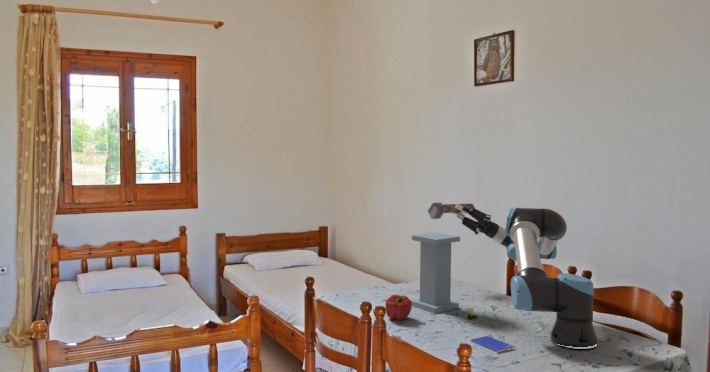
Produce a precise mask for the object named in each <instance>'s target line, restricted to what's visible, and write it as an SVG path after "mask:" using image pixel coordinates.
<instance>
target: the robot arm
mask: <svg viewBox="0 0 710 372" xmlns="http://www.w3.org/2000/svg"><path fill="white" fill-rule="evenodd" d="M455 204H456V206H455V208H456V209H458V210H460V211H462V212H458V213H452V214H453V215H455V216H456V218H459V219H460V220H461V224H462V225H463V226H464V227H466V228H467V229H469V230H471V232H473V233H474V234H475V235H478V234H479V233H482V234H484V235H485V237H488V238H490V239H492V240H493V241H494V242H497V243H498V244H500V245H502V246H503V247H504V248H506V254H507V256H508V257H509V259H510V260H512V261H516V267H517V272H516V273H515V276H512V277H511V279H510V294H511V300H512V304H513V307H514V308H515V309H516V310H519V311H524V312H543V313H546V312H547V313H556V315H555V316H556V319H555V321H554V323H553V327H552V329H551V331H550V339H551V341H552V342H554V343H556V344H560V345H564V346H572V347H588V346H593V345H595V344H597V345H598V337H597V334H596V331H595V326H594V323H593V320H594V319H593V313H594V312H593V311H594V296H595V292H594V283H593V281H592V280H591V279H589V278H587V277H585V276H582V275H577V274H573V273H566V272H564V273H563V272H560V273H558V274H557V275H556V277H548V273H547V272H546V271H545V270H543V267H542V262H541V260H554V259H556V257H557V251H558V249H557V244H558V242H559V240H561V239H563V238H564V237H565V235H566V233H567V229H568V228H567V227H568V226H567V222H566V220H565V219H564V217H563V216H562V215H561V214H560V213H558V212H557V211H555V210H553V209H549V208H534V207H533V208H530V207H529V208H528V207H510V208H508V210H507V213H506V222H505V227H503V226H500V225H499V224H498V223H496V222H494V221H492V220H491V219H492V215H491V214H487V213H485V212H484V211H483V212H482V211H481V210H479V209H476V207H475V208H472V209H468V208H466V207H462V206H461V205H459V204H460V203H455ZM466 215H469V216H470V217H472V218H473V219H472V218H470V217H467V216H466ZM551 341H550V342H551ZM552 342H551V343H552Z"/></svg>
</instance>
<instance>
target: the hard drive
mask: <svg viewBox="0 0 710 372" xmlns="http://www.w3.org/2000/svg"><path fill="white" fill-rule="evenodd" d="M470 343H471V344H473V345H476V346H478V347H480V346H481V348H483V349H485V348H486V349H485V350H487V349H488V351H489V350H491V351H490V352H492V351H493V352H492V353H494V352H496V353H497V352H500V351H504V350H508V349H512V348H514V349H515V346H514V345H511V344H508V343H506V342H504V341H501V340H499V339H496V338H493V337H492V336H488V335H485V336H481V337H478V338H476V337H475V338H471V339H470ZM496 353H495V354H496ZM497 354H498V353H497Z"/></svg>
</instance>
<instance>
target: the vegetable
mask: <svg viewBox="0 0 710 372" xmlns="http://www.w3.org/2000/svg"><path fill="white" fill-rule="evenodd" d="M411 301H412V300H411V299H410V298H409V297H408V296H406V295H399V294H393V295H390V296H389V297H387V299H386V301H385V313H386V315H387V317H388V318H389V319H390V320H392V321H394V320H398V321H404V320H406V318H408V317H409V315H410V313H411V311H412V308H413V306H412V302H411Z"/></svg>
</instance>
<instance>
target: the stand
mask: <svg viewBox="0 0 710 372" xmlns="http://www.w3.org/2000/svg"><path fill="white" fill-rule="evenodd" d="M411 237H412V238H411V240H412V241H416V242H420V256H419V257H420V258H419V259H420V260H419V261H420V263H419V264H420V265H419V266H420V267H419V299H414V300H411V302H412V307H415V308H418V309H421V310H424V311H427V312H430V313H433V314H438V313H442V312H447V311H450V310H454V309H459V308H460V307H459V306H460V303H459V302H457V301H453V300H451V291H452V290H451V286H452V285H451V283H452V282H451V279H452V278H451V277H452V243H457V242H461V236H459V235H454V234H453V235H452V234H447V233H442V232H441V233H440V232H429V233H421V234H413V235H412V236H411ZM458 307H459V308H458Z"/></svg>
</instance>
